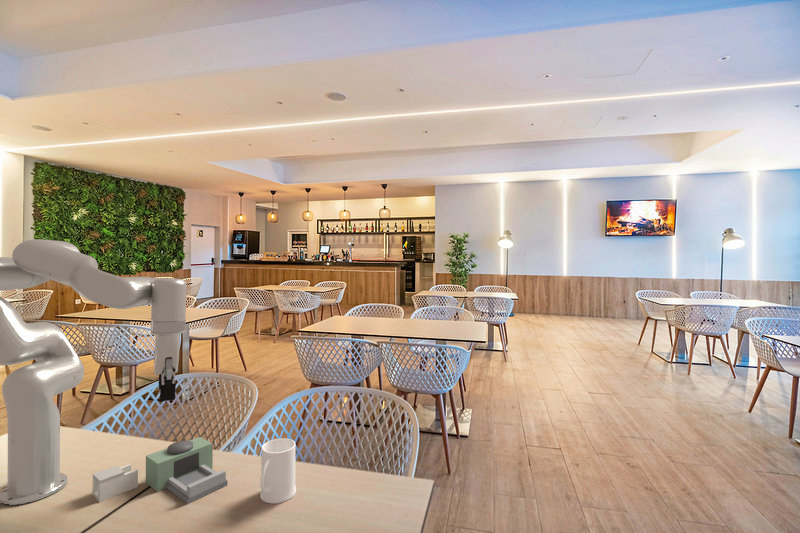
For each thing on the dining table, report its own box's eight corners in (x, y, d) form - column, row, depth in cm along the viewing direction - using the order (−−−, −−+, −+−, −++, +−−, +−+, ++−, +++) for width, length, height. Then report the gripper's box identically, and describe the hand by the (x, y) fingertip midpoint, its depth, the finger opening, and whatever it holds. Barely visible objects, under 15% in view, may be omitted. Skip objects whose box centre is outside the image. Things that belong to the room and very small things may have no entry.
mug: (273, 515, 88) (274, 462, 88) (243, 507, 91) (243, 456, 91) (302, 487, 100) (303, 440, 100) (274, 481, 102) (274, 435, 102)
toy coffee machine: (145, 482, 101) (145, 451, 101) (199, 460, 113) (199, 433, 113) (178, 508, 91) (179, 474, 91) (234, 481, 102) (234, 451, 102)
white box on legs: (99, 502, 93) (99, 480, 93) (92, 495, 96) (92, 474, 96) (137, 487, 99) (137, 466, 99) (129, 480, 102) (129, 460, 102)
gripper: (150, 323, 104) (148, 387, 104) (151, 333, 90) (149, 407, 90) (182, 321, 108) (180, 383, 108) (188, 331, 94) (186, 402, 94)
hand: (166, 394), depth 99 cm, fingers open, 9 cm apart
